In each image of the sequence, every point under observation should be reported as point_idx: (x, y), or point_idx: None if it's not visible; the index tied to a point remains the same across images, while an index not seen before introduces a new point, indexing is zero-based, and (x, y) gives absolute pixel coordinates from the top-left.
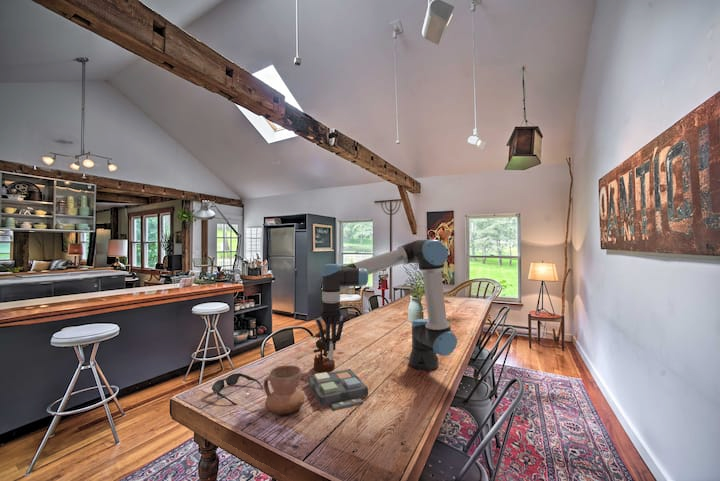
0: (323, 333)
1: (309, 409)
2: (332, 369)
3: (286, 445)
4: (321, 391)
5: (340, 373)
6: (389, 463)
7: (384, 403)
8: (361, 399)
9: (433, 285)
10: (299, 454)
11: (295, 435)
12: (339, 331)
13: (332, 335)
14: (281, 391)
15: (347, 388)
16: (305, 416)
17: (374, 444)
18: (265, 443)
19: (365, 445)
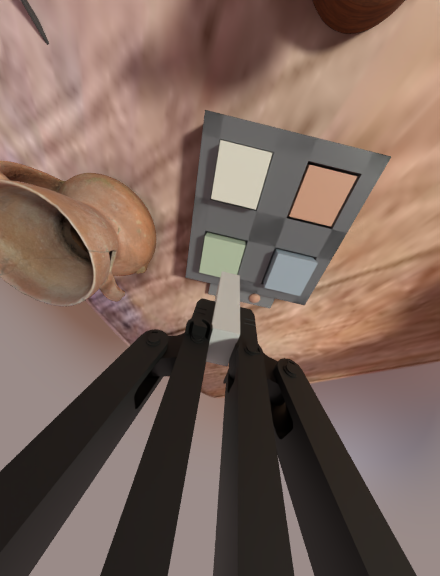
0: (106, 452)
1: (167, 262)
2: (380, 20)
3: (115, 318)
4: (199, 253)
5: (324, 173)
6: (210, 388)
7: (300, 327)
8: (272, 302)
9: None
10: (129, 337)
11: (129, 309)
12: (294, 494)
13: (228, 415)
14: (69, 268)
15: (265, 277)
16: (154, 278)
17: (214, 369)
18: (87, 300)
19: (205, 365)
